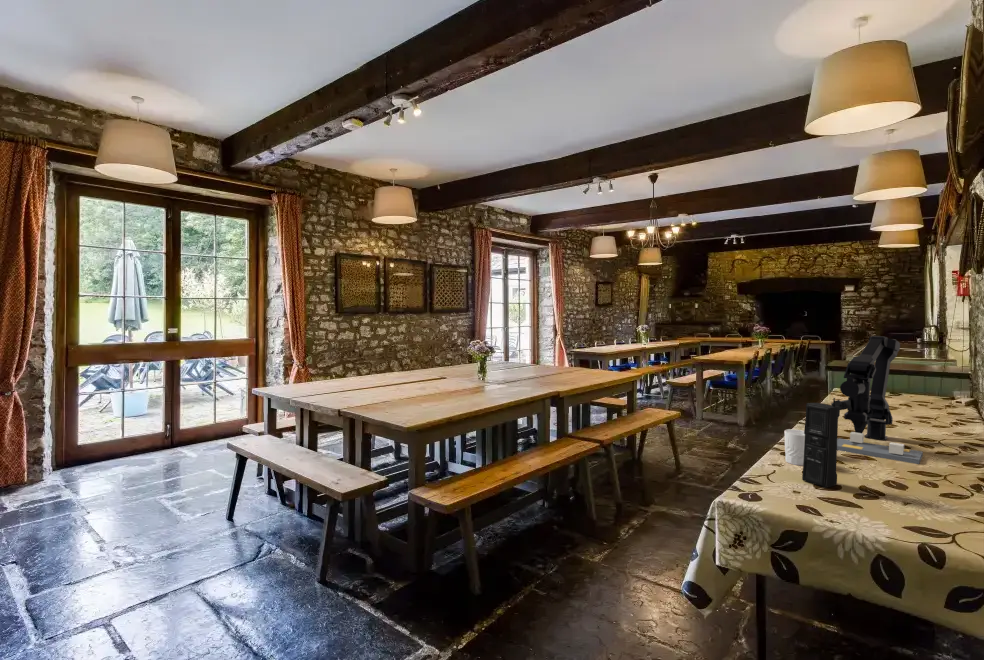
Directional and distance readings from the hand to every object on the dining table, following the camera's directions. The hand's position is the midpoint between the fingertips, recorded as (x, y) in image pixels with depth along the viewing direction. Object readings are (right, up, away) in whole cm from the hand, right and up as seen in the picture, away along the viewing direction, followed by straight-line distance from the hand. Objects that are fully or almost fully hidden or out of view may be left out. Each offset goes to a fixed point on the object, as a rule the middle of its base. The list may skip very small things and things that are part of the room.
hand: (858, 436), depth 182 cm
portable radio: (-41, -5, -40) cm, 57 cm away
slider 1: (-2, -1, -2) cm, 3 cm away
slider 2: (+1, -2, -16) cm, 17 cm away
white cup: (-36, -4, -21) cm, 42 cm away
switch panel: (-1, -4, -9) cm, 10 cm away
